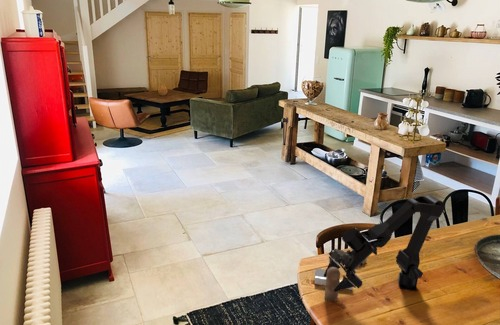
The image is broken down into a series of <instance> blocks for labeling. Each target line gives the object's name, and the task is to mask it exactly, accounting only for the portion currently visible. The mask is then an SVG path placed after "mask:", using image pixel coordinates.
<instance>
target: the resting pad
mask: <svg viewBox="0 0 500 325" xmlns="http://www.w3.org/2000/svg"><path fill="white" fill-rule="evenodd" d="M325 271H326V269H322V268H315V271H314V277H313V279H314V280H315V276H317V277H324V273H325ZM324 278H326V277H324Z"/></svg>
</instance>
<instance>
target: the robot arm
mask: <svg viewBox="0 0 500 325" xmlns="http://www.w3.org/2000/svg"><path fill="white" fill-rule="evenodd" d="M445 208H446V205H445V203H444V202H443V201H442V200H440V199H439V198H438V197H436V196H434V195H432V194H426V195H418V196H416V197H412V198H411V197H410V198H407V200H406V201H405V203H404V204H403V205H402V206H400V207H399V208H398V209H397V210H396V211H395V212H394V213H392V214H391V215H390V216H389V217H388V218H387V219H386V220H384V221H383V222H381V223H376V224H375V225H373V226H371V227H370V228H368V229H365V230H361V231H360V230H358V228H356V227H354V228H353V229H351V228H350V229H347V230H345V231H344V232H343V234H342V236H341V239H342V242H343V243H345V244H346V245H347V246H348V247H349V248H350V249H351V250H350V249H348V250H346V251H343V250H341V249H338V248H334V249H333V250H330V251H329V252H328V255H329V256H328V259H329V262H328V265H327V267H326V268H325V270H326V271H325V273H324V277H326V276H327V270H328V269H329V268H330V267H336V268H338V269H340V268H341V269H343V271H344V272H345V275H343V276H342V279H341V280H342V281H341V282H340V283H339V284H338V285H337V286H336V287H335V289H334V291H335V292H337V291H338V292H340V291H343V290H348V289H347V288H351V287H353V288H355V289H356V288H358V289H359V288H361V287H362V286H363V283H364V282H363V280H362V279H361V278H360V277H359V276H358V275H357V274H356V273H357V272H356V270H357V268H358V267H360V266H361V267H363V266H364V264H365V263H364V264H363V263H362V262H363V261H364V260H365V259H368V257H370V256H371V255H372V254H374V255H375V256H378V248H383V247H385V246H386V245H387V244H388V243H389V242H390V240H391V238H392V236H393V234H394V232H395V231H396V230H398V229H399V228H400V227H401V226H402V225H403V224H404V223H406V222H407V221H408V220H409V219H410V218H411V217H412V216H414V215H415V214H416V213H419V218H418V221H417V223H416V225H415V227H414V230H413V232H412V234H411V237H410V239H409V240H408V243H407V246H406V247H405V248H404V249H399V250H398V252H397V255H396V256H395V263H396V264H397V266H398V268H399V269H400V271H399V272H398V278H397V282H398V285H399V289H402V290H408V291H415V292H417V291H418V288H417V285H418V280H419V279H421V278H422V277H423V275H424V272H423V271H422V270H421V269H420V268H419V266H420V263H421V261H420V253H421V250H422V248H423V246H424V243H425V241H426V238H427V236H428V234H429V232H430V230H431V227H432V225H433V223H434V222H435V221H436V220H438V219H439V218H441V216H442V214H443V212H444V211H445ZM359 265H360V266H359Z"/></svg>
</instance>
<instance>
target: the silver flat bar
mask: <svg viewBox="0 0 500 325" xmlns="http://www.w3.org/2000/svg"><path fill="white" fill-rule="evenodd" d="M314 277H315V279H314V285H321V286H326V278H324V277H317V276H315V275H314ZM342 280H343V279H340V280H339V283H340V282H341V281H342ZM353 288H354V287H351V288H347V289H346V290H351V291H353Z"/></svg>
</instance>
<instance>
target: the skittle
mask: <svg viewBox="0 0 500 325" xmlns="http://www.w3.org/2000/svg"><path fill="white" fill-rule="evenodd" d="M339 269H340V268H339ZM339 269H338V268H336V267H330V268H329V269H328V270H327V276H326V286H325V285H324V286H325V289H324V299H325V300H326V301H328V302H337V301H338V299H339V297H338V296H339V291H337V292H335V291H334V289H335V287H336V286H337V285H338V284H339V280H341V279H340V278H341V271H340V270H339Z"/></svg>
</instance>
